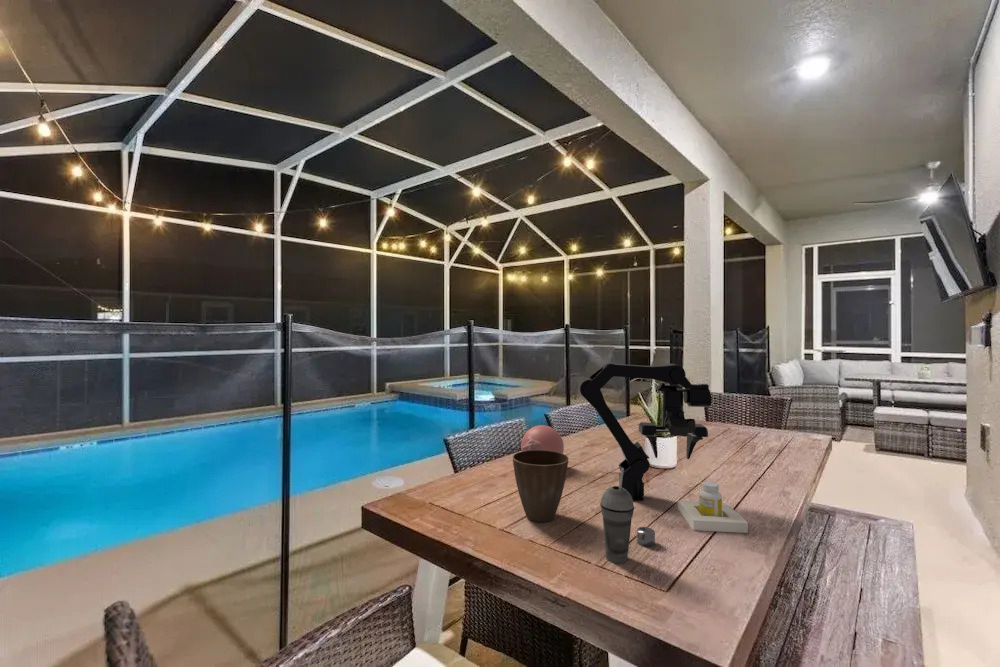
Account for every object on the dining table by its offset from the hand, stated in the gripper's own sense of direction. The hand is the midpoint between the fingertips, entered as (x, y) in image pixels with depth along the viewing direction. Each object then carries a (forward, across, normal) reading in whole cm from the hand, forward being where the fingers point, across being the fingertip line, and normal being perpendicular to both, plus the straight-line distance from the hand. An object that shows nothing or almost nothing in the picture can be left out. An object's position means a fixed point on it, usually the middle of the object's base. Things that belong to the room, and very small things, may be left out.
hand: (672, 458), depth 134 cm
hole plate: (+12, +6, -15) cm, 20 cm away
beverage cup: (+12, -22, -38) cm, 46 cm away
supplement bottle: (+12, +6, -15) cm, 20 cm away
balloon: (+12, -40, +23) cm, 48 cm away
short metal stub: (+12, -14, -30) cm, 35 cm away
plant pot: (+12, -39, -18) cm, 45 cm away
